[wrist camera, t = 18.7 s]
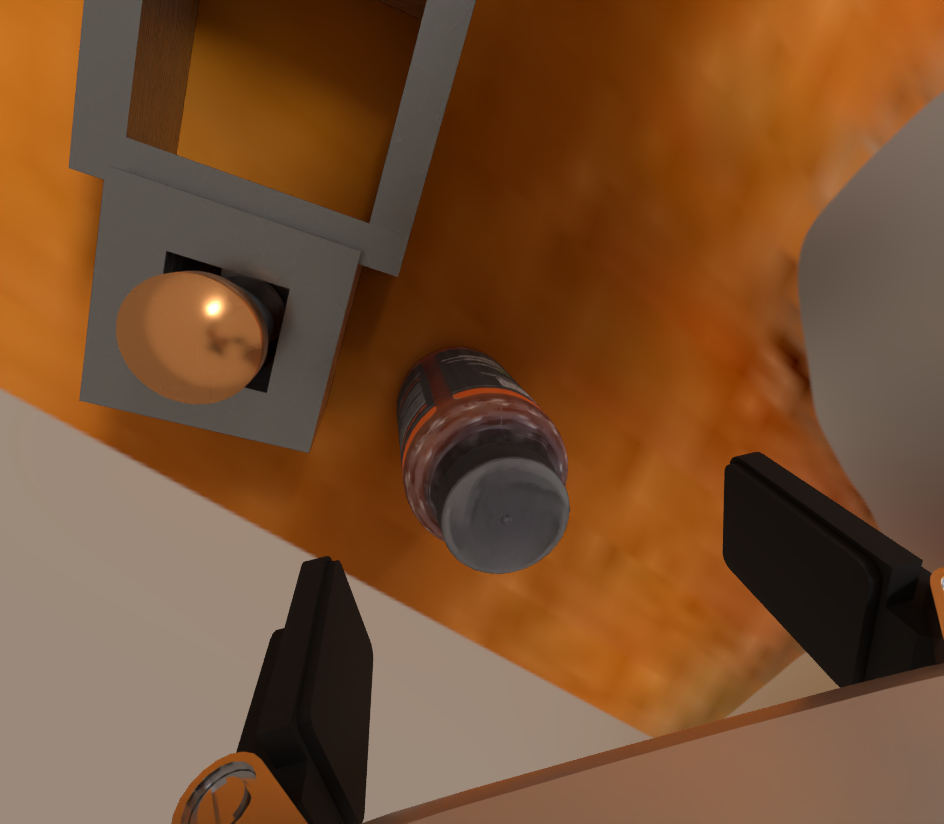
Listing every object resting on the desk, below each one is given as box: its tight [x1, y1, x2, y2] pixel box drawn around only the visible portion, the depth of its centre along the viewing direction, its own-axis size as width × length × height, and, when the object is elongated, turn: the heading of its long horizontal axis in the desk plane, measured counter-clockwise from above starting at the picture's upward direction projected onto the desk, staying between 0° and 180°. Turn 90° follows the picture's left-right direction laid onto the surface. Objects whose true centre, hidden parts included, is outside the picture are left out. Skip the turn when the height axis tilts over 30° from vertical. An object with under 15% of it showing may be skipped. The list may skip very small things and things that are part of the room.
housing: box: [69, 0, 476, 453], centre depth 17 cm, size 26×11×5 cm, turn 161°
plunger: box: [116, 271, 285, 404], centre depth 18 cm, size 4×4×6 cm
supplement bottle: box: [397, 347, 570, 574], centre depth 20 cm, size 6×6×11 cm
